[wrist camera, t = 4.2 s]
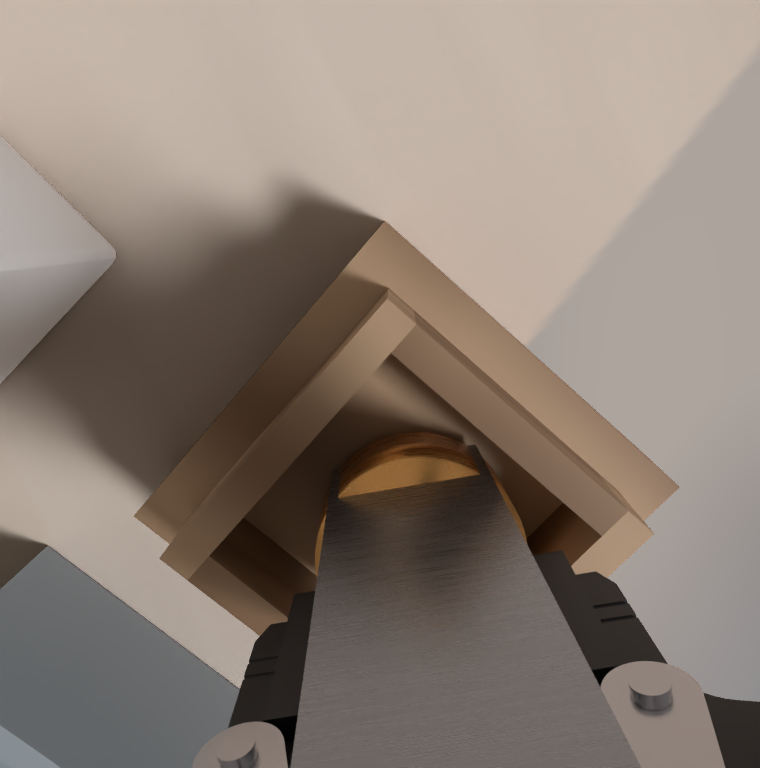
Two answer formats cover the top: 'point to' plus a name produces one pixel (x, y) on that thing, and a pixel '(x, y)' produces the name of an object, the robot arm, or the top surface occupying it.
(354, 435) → the socket block
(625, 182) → the top surface
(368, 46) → the top surface
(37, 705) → the bin
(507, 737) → the strut
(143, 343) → the top surface
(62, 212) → the medicine bottle
